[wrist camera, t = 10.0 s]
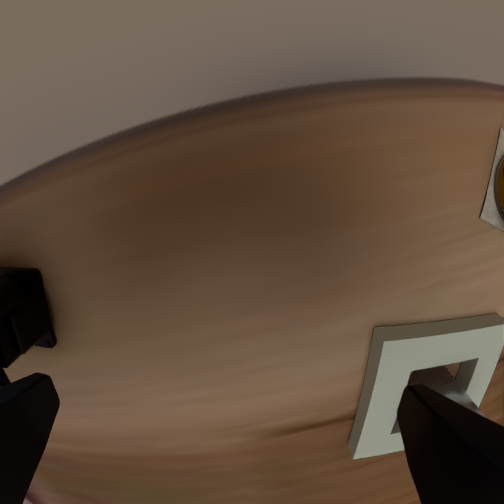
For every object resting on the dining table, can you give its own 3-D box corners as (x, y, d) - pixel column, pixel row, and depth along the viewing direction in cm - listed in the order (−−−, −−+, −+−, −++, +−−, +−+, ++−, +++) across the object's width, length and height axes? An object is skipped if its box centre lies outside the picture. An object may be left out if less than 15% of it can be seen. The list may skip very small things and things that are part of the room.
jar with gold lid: (403, 411, 23) (456, 517, 11) (399, 376, 22) (466, 491, 10) (446, 390, 22) (511, 483, 10) (446, 354, 21) (527, 451, 9)
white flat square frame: (348, 443, 23) (353, 459, 21) (374, 327, 20) (384, 341, 18) (457, 420, 23) (466, 432, 21) (496, 313, 20) (510, 322, 18)
